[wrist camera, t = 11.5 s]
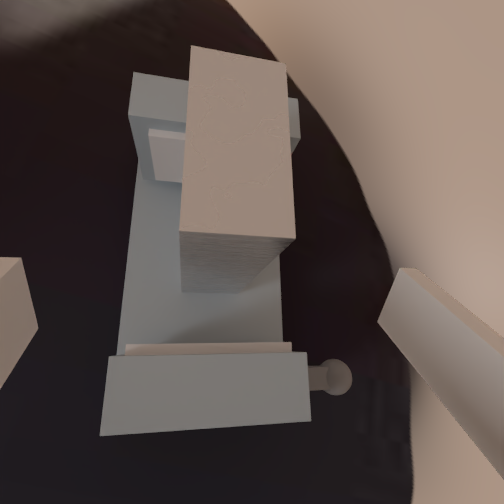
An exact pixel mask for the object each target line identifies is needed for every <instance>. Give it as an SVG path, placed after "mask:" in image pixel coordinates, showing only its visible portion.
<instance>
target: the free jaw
mask: <svg viewBox="0 0 504 504" xmlns="http://www.w3.org/2000/svg"><path fill="white" fill-rule="evenodd" d="M351 383H352V375H351V372H350V369H349V368H348V366H347V365H346V364H345V363H343V362H342V361H340V360H337V359H329V360H326V361H324V362H323V363H322V364H321V365H320V366H308V365H307V352H292V345H291V342H255V343H178V344H126V348H125V354H123V355H116V356H109V362H108V370H107V378H106V387H105V395H104V404H103V412H102V420H101V429H100V436H108V435H122V434H136V433H150V432H164V431H178V430H192V429H206V428H220V427H234V426H248V425H262V424H276V423H290V422H304V421H311V412H310V396H309V391H310V390H324V391H326V392H327V393H329V394H331V395H341V394H344V393H345V392H347V391H348V389H349V388H350V386H351Z"/></svg>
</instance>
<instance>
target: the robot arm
mask: <svg viewBox="0 0 504 504" xmlns="http://www.w3.org/2000/svg"><path fill="white" fill-rule="evenodd" d="M377 322H378V323H379V325H380V326H381V327H382V328H383V330H384V331H385V332H386V333H387V335H388V336H389V337H390V338H391V340H392V341H393V342H394V343H395V344H396V346H397V347H398V348H399V349H400V351H401V352H402V353H403V354H404V356H405V357H406V358H407V359H408V361H409V362H410V363H411V364H412V366H413V367H414V368H415V369H416V371H417V372H418V373H419V374H420V376H421V377H422V378H423V379H424V381H425V382H426V383H427V384H428V386H429V387H430V388H431V389H432V391H433V392H434V393H435V394H436V395H437V397H438V398H439V399H440V401H441V402H442V403H443V404H444V406H445V407H446V408H447V409H448V411H449V412H450V413H451V414H452V416H453V417H454V418H455V419H456V421H457V422H458V423H459V424H460V426H461V427H462V428H463V429H464V431H465V432H466V433H467V434H468V436H469V437H470V438H471V439H472V441H474V443H475V444H476V446H477V447H478V448H479V449H480V450H481V452H482V453H483V454H484V456H485V457H486V458H487V459H488V460H489V462H490V463H491V464H492V466H493V467H494V468H495V469H496V471H497V472H498V473H499V474H500V475H501V477H502V478H503V479H504V338H503V337H502V336H500V335H499V334H498V333H497V332H495V331H494V330H493V329H492V328H490V327H489V326H488V325H487V324H485V323H484V322H483V321H482V320H480V319H479V318H478V317H476V316H475V315H474V314H473V313H471V312H470V311H469V310H468V309H467V308H465V307H464V306H463V305H462V304H460V303H459V302H458V301H457V300H455V299H454V298H453V297H452V296H450V295H449V294H448V293H447V292H445V291H444V290H443V289H442V288H440V287H439V286H438V285H437V284H435V283H434V282H433V281H432V280H430V279H429V278H428V277H427V276H425V275H424V274H423V273H422V272H420V271H419V270H418V269H416V268H399V271H398V273H397V276H396V278H395V280H394V283H393V285H392V288H391V290H390V292H389V295H388V297H387V300H386V302H385V304H384V307H383V309H382V312H381V314H380V316H379V319H378V321H377ZM37 330H38V325H37V321H36V317H35V312H34V308H33V304H32V300H31V296H30V292H29V288H28V284H27V280H26V276H25V272H24V267H23V263H22V259H21V258H10V257H0V389H1V387H2V385H3V384H4V382H5V381H6V379H7V377H8V376H9V374H10V373H11V371H12V369H13V368H14V366H15V365H16V363H17V361H18V360H19V358H20V357H21V355H22V353H23V352H24V350H25V349H26V347H27V345H28V344H29V342H30V341H31V339H32V337H33V336H34V334H35V333H36V331H37Z"/></svg>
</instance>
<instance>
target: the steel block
mask: <svg viewBox="0 0 504 504" xmlns="http://www.w3.org/2000/svg"><path fill="white" fill-rule="evenodd" d="M295 239H296V233H295V216H294V198H293V180H292V163H291V145H290V127H289V110H288V92H287V74H286V64H285V63H280V62H275V61H270V60H265V59H260V58H254V57H249V56H244V55H239V54H233V53H228V52H223V51H218V50H212V49H207V48H202V47H197V46H192V45H191V57H190V72H189V87H188V103H187V118H186V133H185V149H184V164H183V179H182V194H181V210H180V225H179V242H180V270H181V292H188V293H228V294H238V293H239V292H240V291H241V290H242V289H243V288H245V287H246V286H247V285H248V284H249V283H250V282H251V281H252V280H253V279H254V278H255V277H256V276H257V275H258V274H259V273H260V272H261V271H262V270H263V269H264V268H265V267H267V266H268V265H269V264H270V263H271V262H272V261H273V260H274V259H275V258H276V257H277V256H278V255H279V254H280V253H281V252H282V251H283V250H284V249H285V248H286V247H287V246H289V245H290V244H291V243H292V242H293V241H294V240H295Z"/></svg>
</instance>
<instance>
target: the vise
mask: <svg viewBox="0 0 504 504" xmlns="http://www.w3.org/2000/svg"><path fill="white" fill-rule="evenodd" d="M188 87H189V81H185V80H179V79H173V78H167V77H160V76H154V75H148V74H142V73H136V72H134V73H133V81H132V88H131V96H130V104H129V111H128V117H129V121H130V125H131V129H132V134H133V138H134V142H135V146H136V150H137V155H138V159H139V160H138V169H137V177H136V186H135V195H134V204H133V213H132V222H131V231H130V240H129V249H128V258H127V267H126V276H125V284H124V293H123V302H122V311H121V320H120V329H119V338H118V347H117V355H123V354H125V348H126V344H178V343H255V342H283V333H282V310H281V286H280V263H279V255H278V256H277V257H276V258H275V259H274V260H273V261H272V262H271V263H270V264H269V265H268V266H267V267H265V268H264V269H263V270H262V271H261V272H260V273H259V274H258V275H257V276H256V277H255V278H254V279H253V280H252V281H251V282H250V283H249V284H248V285H247V286H246V287H245V288H243V289H242V290H241V291H240V292H239V293H238V294H228V293H188V292H181V270H180V242H179V225H180V210H181V194H182V179H183V164H184V149H185V133H186V118H187V103H188ZM288 110H289V127H290V145H291V155H292V153H293V151H294V149H295V147H296V146H297V144H298V142H299V140H300V138H301V137H300V123H299V110H298V99H295V98H288Z"/></svg>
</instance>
